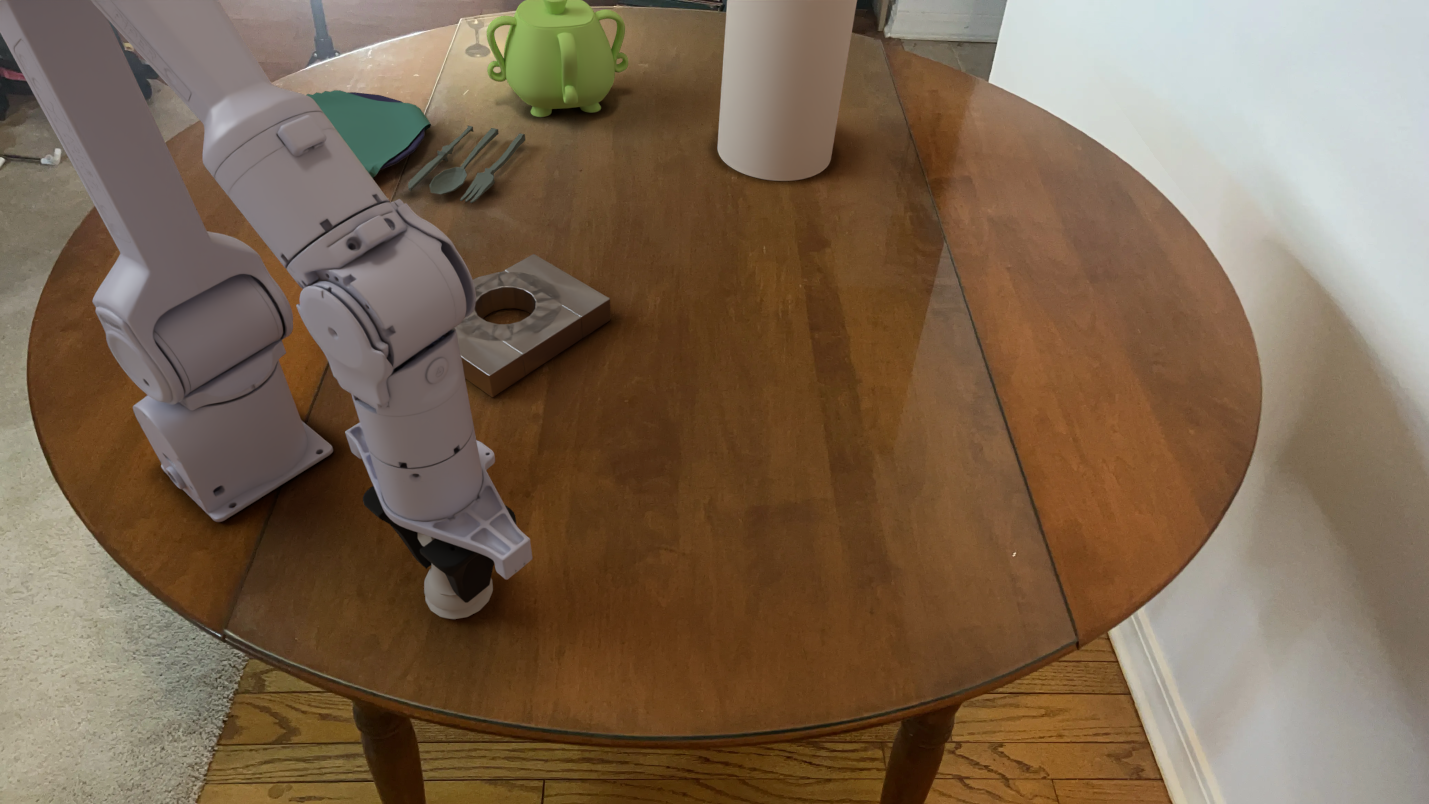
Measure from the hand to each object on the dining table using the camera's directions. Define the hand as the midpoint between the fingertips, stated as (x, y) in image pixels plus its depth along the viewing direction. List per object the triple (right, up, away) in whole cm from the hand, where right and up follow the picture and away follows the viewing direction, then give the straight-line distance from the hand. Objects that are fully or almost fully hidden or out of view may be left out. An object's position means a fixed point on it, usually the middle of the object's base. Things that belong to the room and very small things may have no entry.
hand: (455, 573), depth 59 cm
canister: (+24, +41, +48) cm, 67 cm away
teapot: (-3, +50, +55) cm, 74 cm away
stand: (-1, +18, +21) cm, 28 cm away
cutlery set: (-21, +39, +42) cm, 61 cm away
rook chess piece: (0, -2, +2) cm, 3 cm away
